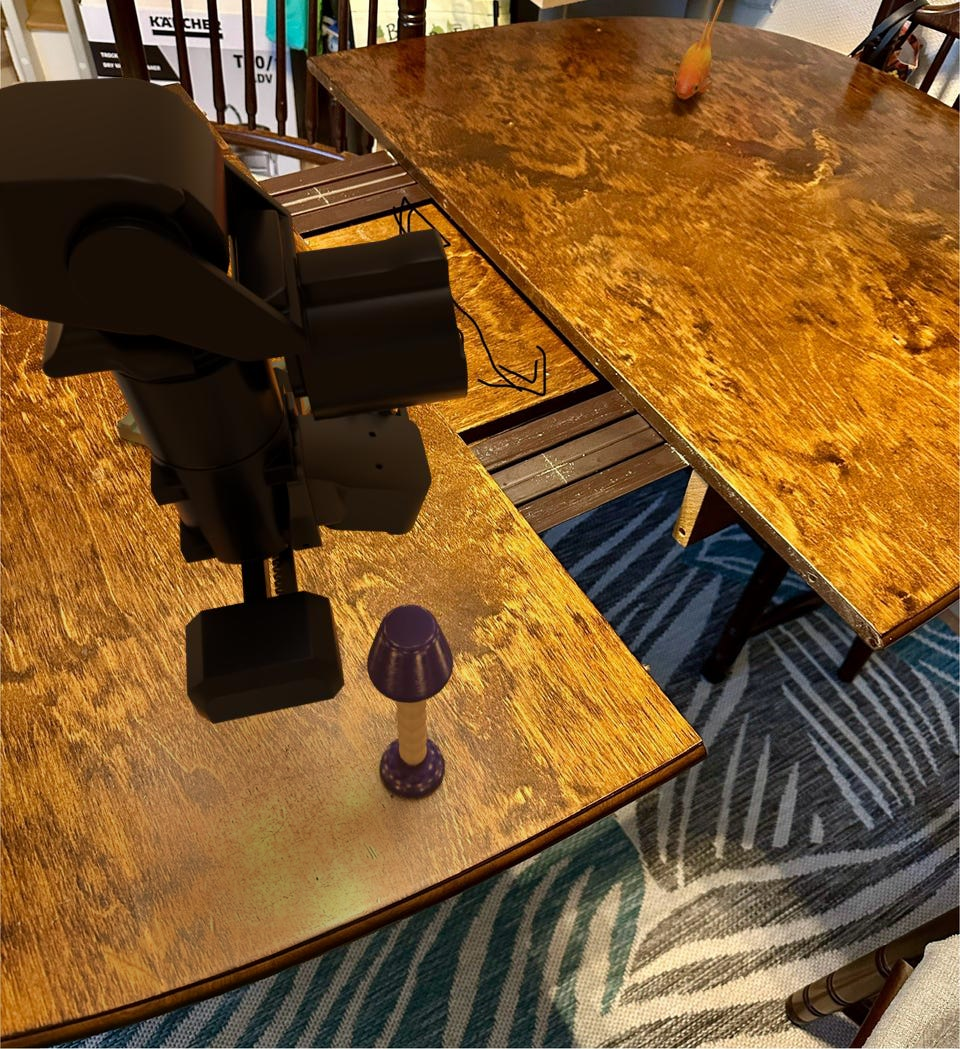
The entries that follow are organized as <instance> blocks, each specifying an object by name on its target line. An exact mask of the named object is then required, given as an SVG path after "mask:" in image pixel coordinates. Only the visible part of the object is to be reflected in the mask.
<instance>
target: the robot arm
mask: <svg viewBox="0 0 960 1049" xmlns="http://www.w3.org/2000/svg"><path fill="white" fill-rule="evenodd" d="M222 151H223V150H222V149H221V146H220V145H219V143H218V141H217V139H216V137H215V135H214V133H213V131H212V129H211V128H210V126H209V125H208V124H207V123H206V122H205V121H204V120H203V119H202V118H201V117H200V116H199V114H198V113H197V112H195V110H193V108H191V106H190V105H189V104H187V103H186V101H185V99H184V97H183V96H182V95H180V94H179V93H177V92H175V91H173V90H172V89H169V88H167V87H165V86H163V85H161V84H160V83H159V84H158V83H155V82H152V81H147V80H144V79H141V78H135V77H117V76H116V77H97V78H80V79H79V78H77V79H76V78H75V79H62V80H61V79H59V80H58V79H57V80H43V81H42V80H39V81H24V82H18V83H14V84H10V85H8V86H5V87H0V306H1V307H3V308H6V309H8V310H9V311H12V312H13V313H15V314H17V315H19V316H22V317H24V318H27V319H31V320H36V321H43V322H47V325H46V333H45V339H44V348H43V354H42V362H41V370H42V372H43V374H44V375H45V376H46V377H47V378H50V379H56V380H57V379H65V378H71V377H77V376H84V375H92V374H98V373H105V372H111V373H112V375H113V377H114V380H115V382H116V384H117V386H118V388H119V390H120V392H121V394H122V397H123V399H124V401H125V403H126V405H127V407H128V409H129V411H131V414H132V416H133V418H134V420H135V422H136V424H137V426H138V428H139V431H140V433H141V435H142V437H143V439H144V441H145V444H146V446H145V447H146V448H147V450H148V452H149V455H150V493H151V494H152V496H153V499H154V500H155V502H156V504H157V507H161V506H167V505H172V504H173V506H174V507H175V510H176V512H177V514H178V516H179V550H180V554H181V555H182V557H183V559H184V561H185V563H186V564H192V563H198V562H203V561H207V560H209V561H210V560H213V559H216V560H217V562H219V563H222V564H226V565H235V566H236V565H237V566H239V565H240V571H241V583H242V584H241V585H242V596H243V597H242V598H243V602H239V603H234V604H227V605H222V606H218V607H212V608H207V609H202V610H199V612H198V613H197V614H196V615H195V616H194V617H193V618H191V620H190V621H189V622H188V623H187V624H185V627H184V629H185V630H184V633H185V637H184V638H185V668H186V669H185V670H186V671H185V672H186V673H185V674H186V675H185V676H186V677H185V678H186V696H187V698H188V699H189V701H190V703H191V704H192V706H193V708H194V709H195V710H196V712H197V714H198V715H199V716H200V717H201V718H203V719H204V720H206V721H207V722H209V723H210V724H212V725H216V724H220V723H225V722H231V721H235V720H240V719H244V718H249V717H255V716H258V715H263V714H268V713H272V712H273V713H274V712H278V711H282V710H287V709H291V708H296V707H301V706H306V705H310V704H316V703H319V702H320V703H321V702H324V701H325V702H326V701H331V700H334V699H335V697H336V696H337V695H339V693H340V691H341V690H342V689H343V688H344V686H345V684H346V683H345V676H344V671H343V669H344V668H343V662H342V655H341V649H340V643H339V642H340V641H339V636H338V634H339V633H338V630H337V625H336V619H335V615H334V610H333V606H332V603H331V599H330V597H328V596H325V595H321V594H318V593H314V592H311V591H308V590H300V591H299V582H298V575H297V574H298V573H297V564H296V557H295V552H301V551H306V550H312V549H315V548H320V547H323V539H322V533H321V528H320V527H325V528H327V529H329V530H332V531H340V532H343V531H344V532H370V533H371V532H374V533H375V532H377V533H386V534H387V535H390V536H403V535H406V534H408V533H410V532H411V531H412V530H413V529H414V527H415V524H416V522H417V519H418V517H419V515H420V513H421V510H422V508H423V506H424V503H425V500H426V497H427V495H428V492H429V490H430V487H431V485H432V483H433V477H432V473H431V468H430V465H429V461H428V456H427V452H426V448H425V444H424V441H423V436H422V433H421V430H420V428H419V426H418V425H417V424H416V423H415V422H414V421H413V420H411V419H410V416H409V412H408V408H410V407H415V406H421V405H429V404H435V403H441V402H447V401H453V400H460V399H466V398H467V396H468V390H469V372H468V370H469V369H468V360H467V359H468V358H467V355H466V352H465V348H464V345H463V341H462V338H461V333H460V331H459V327H458V322H457V315H456V310H455V304H454V299H453V293H452V288H451V284H450V266H449V260H448V257H447V253H446V250H445V247H444V243H443V239H442V236H441V233H440V231H438V230H437V229H436V228H427V229H420V230H413V231H407V232H402V233H399V234H397V235H394V236H392V237H388V238H385V239H380V240H375V241H369V242H361V243H354V244H347V245H339V246H333V247H325V248H318V249H312V250H311V249H310V250H304V251H298V247H297V243H296V240H295V239H296V238H295V233H294V232H295V231H294V223H293V215H292V213H291V210H289V209H288V208H286V207H285V206H284V205H283V204H282V203H280V202H279V201H278V200H277V199H276V198H275V197H273V196H272V195H271V194H270V193H269V192H267V191H266V190H265V189H263V187H261V186H260V185H259V184H258V183H256V182H255V181H254V180H253V179H251V178H250V177H249V176H248V175H247V174H245V173H244V172H243V171H242V170H241V169H239V167H237V166H236V165H234V164H233V163H232V162H231V161H230V160H228V158H226V157H225V156H223V152H222ZM229 269H230V275H229ZM280 358H283V360H284V359H285V363H286V368H287V372H286V371H284V370H282V369H280V368H278V367H274V368H273V366H272V363H271V361H272V359H280ZM304 397H308V400H309V404H310V407H311V409H310V411H311V413H310V414H309V413H308V414H307V415H305V408H304V401H303V398H304ZM269 559H271V564H272V566H273V567H272V572H273V576H272V577H273V579H274V581H273V585H274V593H275V595H273V594H272V583H271V573H270V562H269Z"/></svg>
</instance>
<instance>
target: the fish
mask: <svg viewBox="0 0 960 1049" xmlns="http://www.w3.org/2000/svg"><path fill="white" fill-rule="evenodd" d="M724 2H725V1H724V0H720V1H719V4H718V6H717V8H716V11H715V14H714V15H713V19H712V21H711V24H710V19H708V20H707V23H706V25H705V27H704V29H703V31H702V35H701V37H700V40H699V41H697V42H695V43H694V44H692V45H691V46H690V47H689V48H688V49H687V50H686V52H685V54H684V56H683V57H682V59H681V62H680V63H679V66H678V69H677V71H675V70H672V78H673V85H674V90H675V92H676V95H677V97H678V99H681V100H687V99H689V98H691V97H692V96H694V95H695V94H696V93H701V94H702V93H703V92H705V91H707V89H709V88H710V86H711V85H712V84H713V83H714V80H711V77H708V75H709V74H710V71H711V70H712V67H713V63H712V60H713V58H712V46H713V39H714V30H713V27H714V25H715V24H716V22H717V19H718V16H719V14H720V12H721V9H722V7H723V4H724Z"/></svg>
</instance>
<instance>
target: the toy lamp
mask: <svg viewBox="0 0 960 1049" xmlns="http://www.w3.org/2000/svg"><path fill="white" fill-rule="evenodd" d="M366 669H367V675H368V679H369V680H370V683H371V684H372V685H373V687H374V689H376V690H377V692H379V693H380V694H381V695H382V696H384V697H385V698H387V699H389V700H391V701H394V702H395V705H396V706H395V707H396V720H397V724H396V725H397V726H396V729H397V733H398V735H397V738H395V739H394V740H392V741H391V742H390V743H389V745H387V747H386V748H385V750H384V751H383V753H382V755H381V758H380V760H379V774H380V779H381V781H382V783H383V785H384V786H385V787H386V788H387V790H388V791H389V792H390V793H392V794H394V795H396V796H397V797H400V798H403V799H409V800H410V799H411V800H413V799H414V800H415V799H421V798H424V797H427V796H429V795H430V794H432V793H434V792H435V791H436V790H437V789H438V788H439V786H440V785H441V783H442V781H443V779H444V776H445V773H446V772H445V771H446V762H445V758H444V755H443V752H442V751H441V749H440V747H439V746H438V745H437V744H436V743H435V741H433V740H432V739H431V738H428V737H427V729H428V726H427V720H428V719H427V718H428V714H427V700H429V699H431V698H433V697H436V696H437V695H438V694H439V693H440V692H441V691H443V689H444V688H445V687H446V685H447V684H448V683H449V681H450V679H451V677H452V674H453V669H454V656H453V651H452V649H451V647H450V644H449V642H448V640H447V638H446V635H445V633H444V631H443V629H442V627H441V625H440V623H439V620H438V619H437V618H436V616H435V615H434V614H433V612H431V611H430V610H429V609H427V608H426V607H423V606H421V605H418V604H414V603H413V604H411V603H409V604H402V605H398V606H395V607H394V608H392V609H390V610H389V611H388V612H387V613H386V614H385V616H384V617H383V618H382V620H381V622H380V624H379V625H378V628H377V630H376V633H375V636H374V637H373V641H372V643H371V646H370V648H369V650H368V654H367V660H366Z"/></svg>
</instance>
